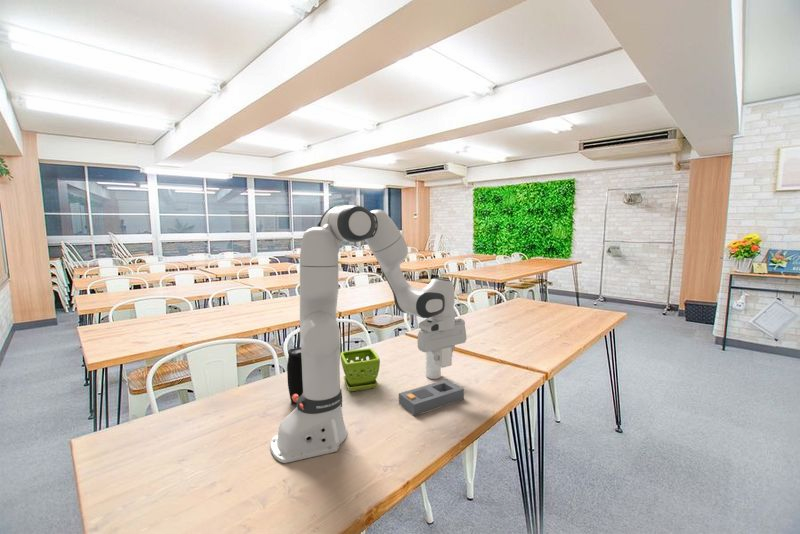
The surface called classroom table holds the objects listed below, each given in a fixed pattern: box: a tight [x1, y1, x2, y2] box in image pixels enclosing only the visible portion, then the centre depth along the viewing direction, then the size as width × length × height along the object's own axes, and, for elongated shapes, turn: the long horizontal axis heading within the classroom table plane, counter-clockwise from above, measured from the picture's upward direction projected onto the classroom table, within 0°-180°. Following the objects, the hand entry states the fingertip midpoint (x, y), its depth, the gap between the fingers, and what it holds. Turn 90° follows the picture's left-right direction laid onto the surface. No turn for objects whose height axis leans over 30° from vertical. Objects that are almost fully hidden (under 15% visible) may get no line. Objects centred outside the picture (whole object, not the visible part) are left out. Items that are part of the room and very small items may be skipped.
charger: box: [435, 346, 453, 369], centre depth 133 cm, size 4×4×7 cm
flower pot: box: [340, 347, 381, 392], centre depth 146 cm, size 14×14×13 cm
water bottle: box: [424, 351, 442, 380], centre depth 154 cm, size 9×6×25 cm
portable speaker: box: [286, 346, 303, 406], centre depth 133 cm, size 9×9×20 cm
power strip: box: [398, 378, 465, 417], centre depth 132 cm, size 22×10×5 cm, turn 121°
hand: (443, 358), depth 133 cm, fingers closed on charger, 4 cm apart
